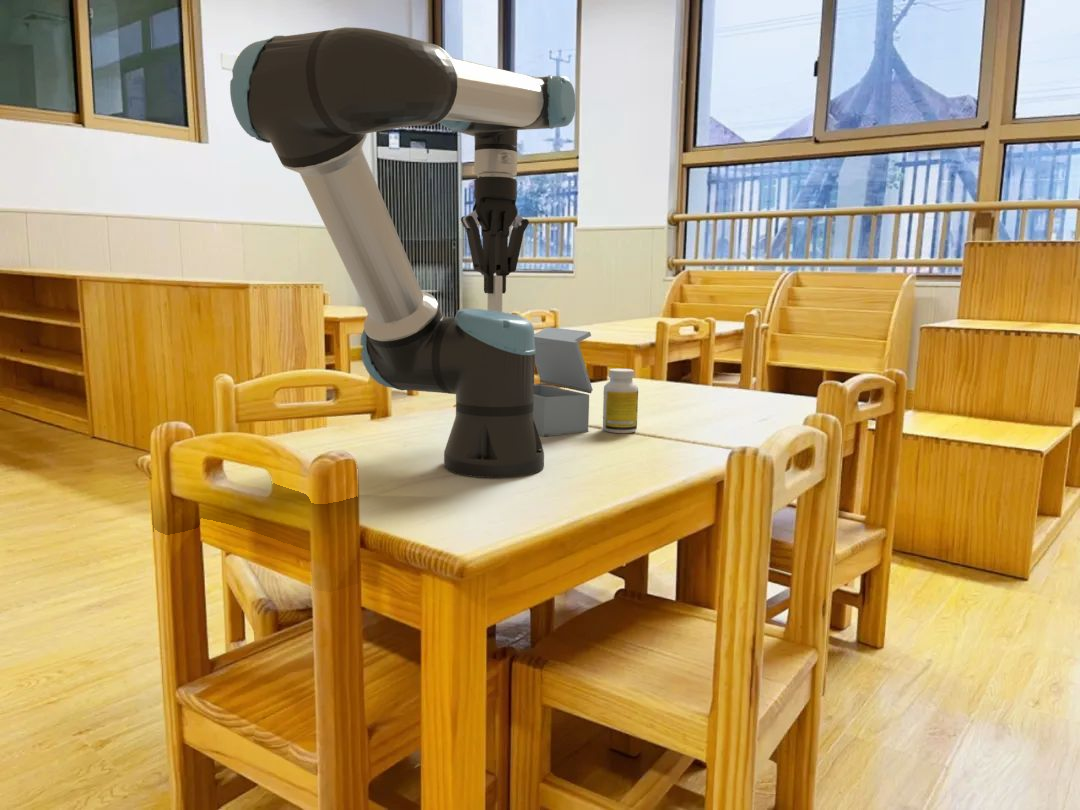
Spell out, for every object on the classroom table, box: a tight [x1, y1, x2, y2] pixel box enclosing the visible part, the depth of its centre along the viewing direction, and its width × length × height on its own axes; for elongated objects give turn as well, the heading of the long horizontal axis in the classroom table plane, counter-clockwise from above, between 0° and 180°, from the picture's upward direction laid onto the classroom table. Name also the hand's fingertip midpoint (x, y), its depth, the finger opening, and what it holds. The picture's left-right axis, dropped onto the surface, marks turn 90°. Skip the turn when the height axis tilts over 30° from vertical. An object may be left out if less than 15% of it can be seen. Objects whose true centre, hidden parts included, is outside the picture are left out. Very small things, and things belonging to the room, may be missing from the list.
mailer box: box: [533, 383, 590, 438], centre depth 155 cm, size 10×16×7 cm, turn 34°
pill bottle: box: [602, 368, 639, 434], centre depth 152 cm, size 6×6×12 cm
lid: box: [534, 326, 593, 394], centre depth 156 cm, size 10×17×5 cm
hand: (494, 312), depth 146 cm, fingers closed
